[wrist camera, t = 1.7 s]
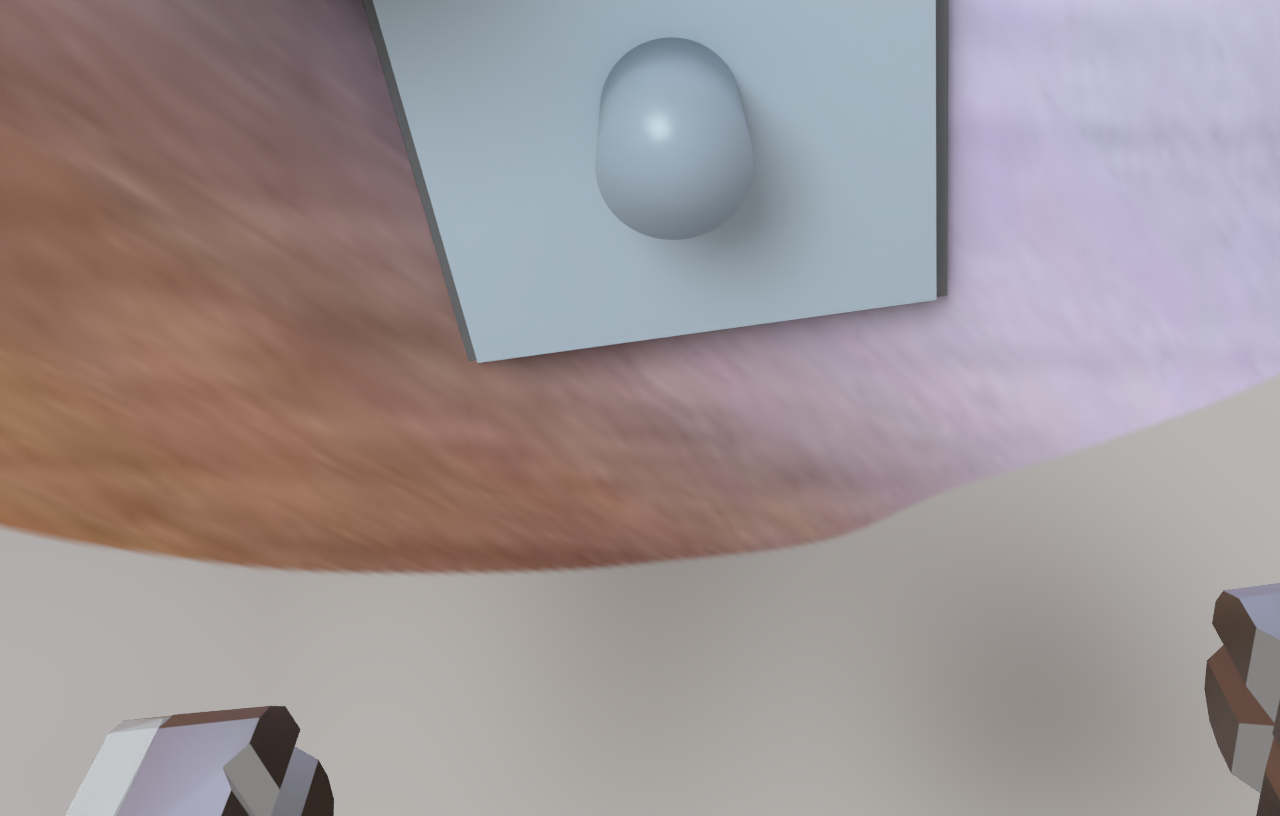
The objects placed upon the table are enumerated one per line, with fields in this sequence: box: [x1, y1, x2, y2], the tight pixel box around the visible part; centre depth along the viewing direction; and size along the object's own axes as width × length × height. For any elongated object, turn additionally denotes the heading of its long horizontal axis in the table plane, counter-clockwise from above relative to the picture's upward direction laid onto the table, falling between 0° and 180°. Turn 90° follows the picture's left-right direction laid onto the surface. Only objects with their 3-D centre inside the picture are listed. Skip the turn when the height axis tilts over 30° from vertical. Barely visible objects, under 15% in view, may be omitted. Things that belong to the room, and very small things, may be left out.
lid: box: [373, 0, 937, 363], centre depth 24 cm, size 12×12×4 cm
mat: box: [362, 0, 948, 361], centre depth 26 cm, size 13×13×1 cm
